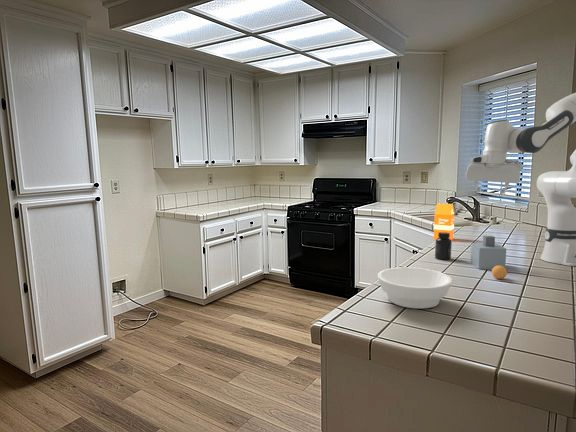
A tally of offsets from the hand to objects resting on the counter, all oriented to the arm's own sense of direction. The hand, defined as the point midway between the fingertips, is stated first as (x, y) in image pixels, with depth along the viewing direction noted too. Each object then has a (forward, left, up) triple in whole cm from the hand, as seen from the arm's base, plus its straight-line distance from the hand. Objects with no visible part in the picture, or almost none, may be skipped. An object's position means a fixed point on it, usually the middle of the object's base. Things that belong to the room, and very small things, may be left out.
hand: (490, 192), depth 166 cm
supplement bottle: (+16, -8, -31) cm, 35 cm away
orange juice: (+5, -53, -31) cm, 62 cm away
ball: (+3, +22, -28) cm, 36 cm away
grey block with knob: (+1, +4, -31) cm, 31 cm away
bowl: (+39, +50, -31) cm, 71 cm away
